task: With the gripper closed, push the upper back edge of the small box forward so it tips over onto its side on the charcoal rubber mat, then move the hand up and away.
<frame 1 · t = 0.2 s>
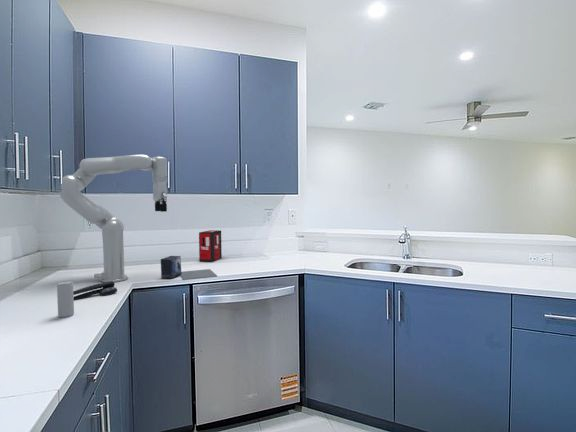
hand: (160, 211, 185), 35 cm above the countertop, tool pointing down, fingers open, 9 cm apart
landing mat: (197, 274, 189), on the countertop
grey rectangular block: (66, 316, 122), on the countertop
small box: (171, 276, 183), on the countertop, touching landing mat
cleaning product box: (210, 260, 235), on the countertop
can opener: (94, 296, 147), on the countertop
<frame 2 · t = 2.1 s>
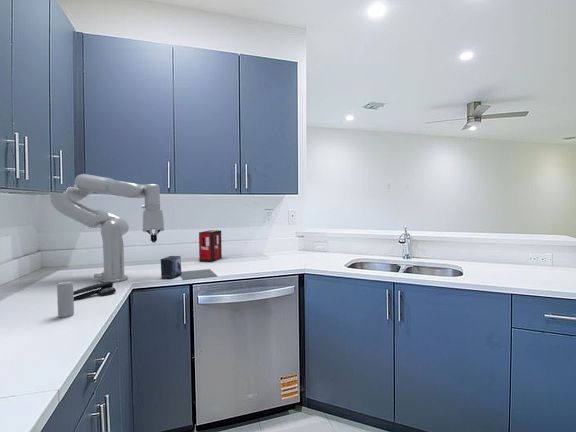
hand: (153, 242, 179), 19 cm above the countertop, tool pointing down, fingers closed
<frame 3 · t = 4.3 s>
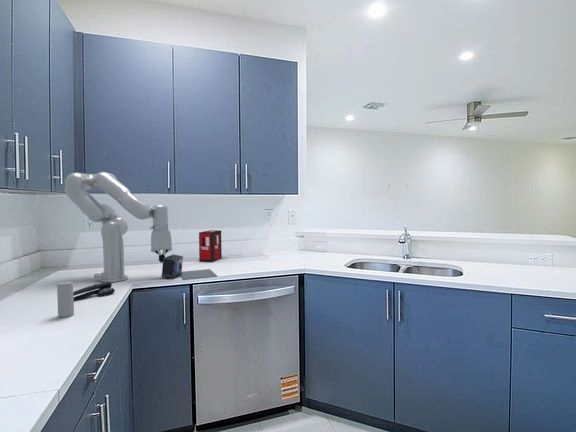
hand: (162, 262, 181), 8 cm above the countertop, tool pointing down, fingers closed
small box: (171, 276, 183), on the countertop, touching gripper, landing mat
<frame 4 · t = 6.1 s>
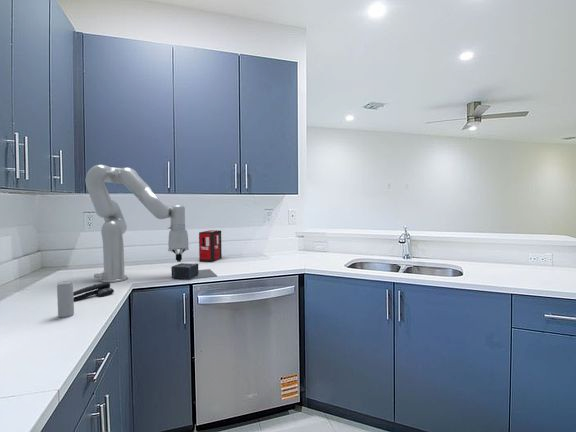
hand: (178, 261, 184), 8 cm above the countertop, tool pointing down, fingers closed
small box: (176, 270, 183), point 3 cm above the countertop, touching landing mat
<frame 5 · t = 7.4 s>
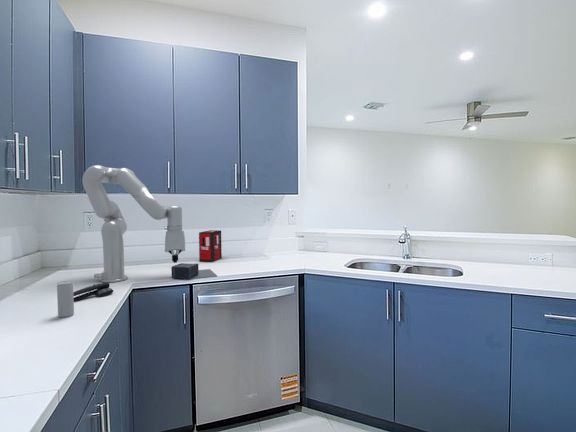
hand: (175, 262, 184), 8 cm above the countertop, tool pointing down, fingers closed
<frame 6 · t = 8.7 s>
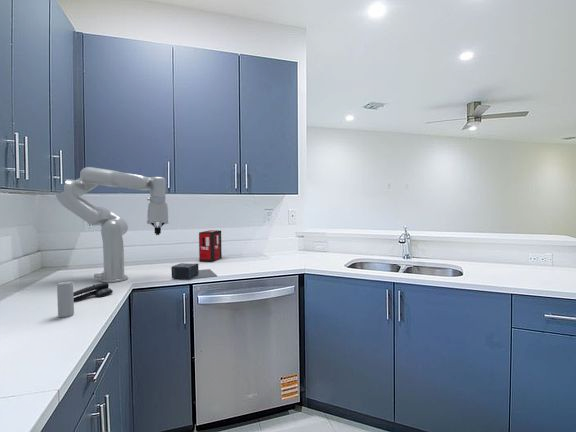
hand: (157, 234, 180), 23 cm above the countertop, tool pointing down, fingers closed
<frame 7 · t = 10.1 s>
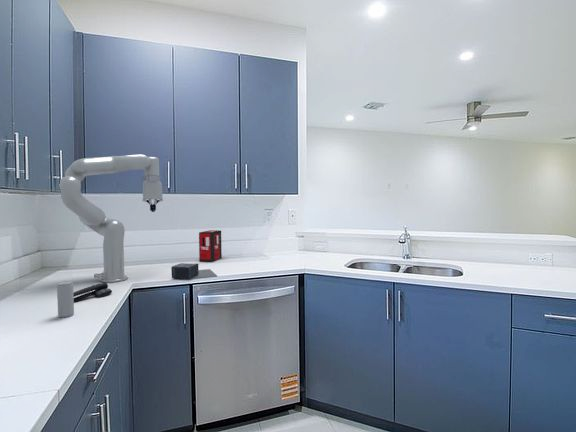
hand: (153, 211, 191), 35 cm above the countertop, tool pointing down, fingers closed
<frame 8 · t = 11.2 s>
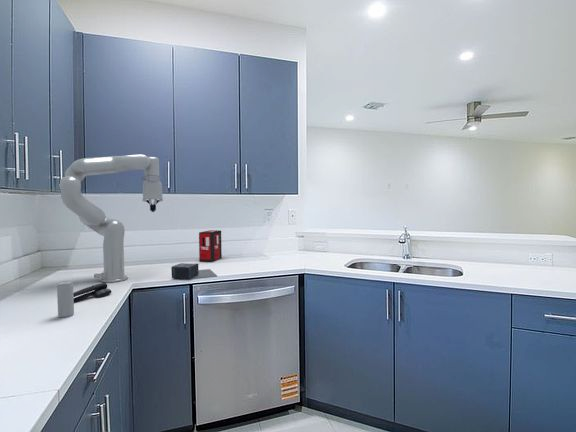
hand: (153, 211, 191), 35 cm above the countertop, tool pointing down, fingers closed
at the end: small box tilted 88°; small box inside the target area (2.8 cm from its centre), point 3.5 cm above the countertop; the gripper is holding nothing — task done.
